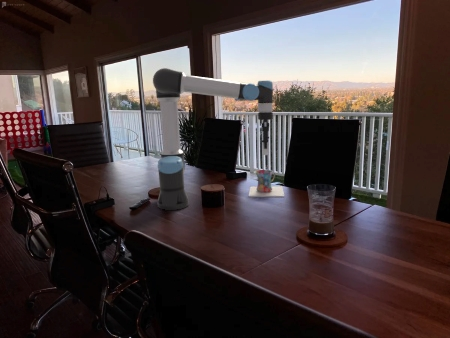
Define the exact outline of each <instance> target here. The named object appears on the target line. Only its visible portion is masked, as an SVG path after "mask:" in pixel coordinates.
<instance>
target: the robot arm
mask: <svg viewBox="0 0 450 338" xmlns="http://www.w3.org/2000/svg"><path fill="white" fill-rule="evenodd" d="M152 84H153V87H154V88H155V94H156V100H158V101H159V105H160V106H159V107H160V118H161V119H160V121H161V131H162V132H161V134H162V147H163V149H162V151H160V158H159V159H158V162H157V169H158V180H159V195H158V199H157V208H158V207H159V208H161V209H160V210H162V209H165V210H164V211H177V209H178V210H182V209H186V208H187V207H189V206H190V200H189V197H188V194H187V192H186V190H185V178H184V172H185V168H186V162H185V155H184V151H183V150H182V149H181V139H180V137H181V136H180V123H179V122H180V121H179V108H178V107H179V106H178V105H179V104H178V102H179V100H180V99H181V95H182V94H183V93H190V94H198V95H203V96H204V95H205V96H213V97H219V98H228V99H229V98H230V99H234V100H235V101H238V102H242V101H244V102H245V101H247V102H252V101H257V112H258V113H257V119H258V120H259V121H262V122H261V131H262V139H261V143H262V156H268V155H269V139H270V136H269V131H270V130H269V129H270V122H269V120H270V121H271V120H273V118H274V113H273V111H274V107H275V105H274V103H273V101H274V98H273V96H274V94H273V93H274V89H273V88H274V86H273V81H272V80H267V79H266V80H258V81H257V84H255V83H251V82H250V83H246V82H240V81H239V82H238V81H232V80H225V79H217V78H211V77H204V76H203V77H202V76H195V75H189V74H185V72H184V71H178V70H173V69H170V68H168V67H167V68H165V67H163V68H160V69H158V70H157V71H156V72H155V73H154V75H153V77H152ZM159 208H158V209H159Z"/></svg>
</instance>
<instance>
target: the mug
mask: <svg viewBox="0 0 450 338" xmlns="http://www.w3.org/2000/svg"><path fill="white" fill-rule="evenodd" d="M255 175H256V177H257V186H256V187H257V191H260V192H269V191H271V190H272V187H271V186H272V184H271V183H272V182H273V181H274V180H275V178H276V172H274V171H273V170H270V169H260V170H256V171H255ZM272 176H273V178H272ZM271 178H272V179H271Z"/></svg>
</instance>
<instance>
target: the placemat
mask: <svg viewBox="0 0 450 338" xmlns="http://www.w3.org/2000/svg"><path fill="white" fill-rule="evenodd" d="M271 187H272V190H271V191H269V192H260V191H257V186H250V187H249V192H248V197H249V198H285V193H284V188H283V186H282V185H281V186H274V185H273V186H272V185H271Z"/></svg>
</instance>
